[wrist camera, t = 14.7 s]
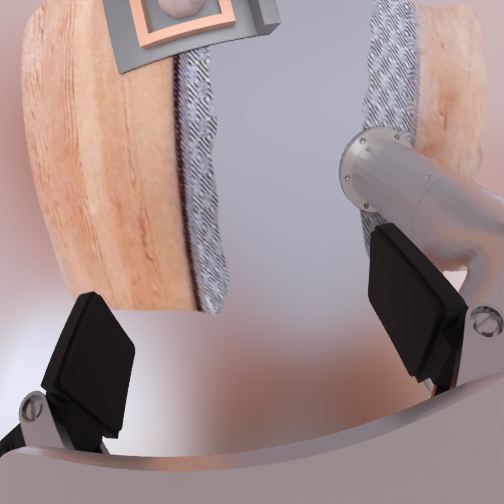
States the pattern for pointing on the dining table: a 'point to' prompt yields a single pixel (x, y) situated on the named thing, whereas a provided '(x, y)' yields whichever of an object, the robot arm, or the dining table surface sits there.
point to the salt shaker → (180, 7)
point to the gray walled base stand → (181, 28)
